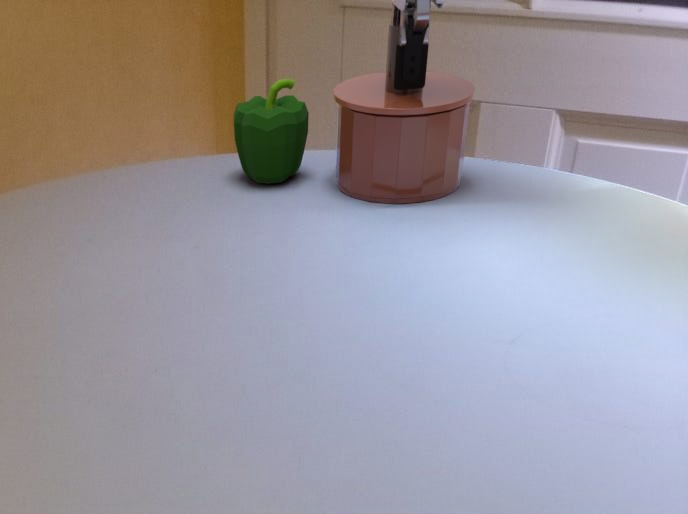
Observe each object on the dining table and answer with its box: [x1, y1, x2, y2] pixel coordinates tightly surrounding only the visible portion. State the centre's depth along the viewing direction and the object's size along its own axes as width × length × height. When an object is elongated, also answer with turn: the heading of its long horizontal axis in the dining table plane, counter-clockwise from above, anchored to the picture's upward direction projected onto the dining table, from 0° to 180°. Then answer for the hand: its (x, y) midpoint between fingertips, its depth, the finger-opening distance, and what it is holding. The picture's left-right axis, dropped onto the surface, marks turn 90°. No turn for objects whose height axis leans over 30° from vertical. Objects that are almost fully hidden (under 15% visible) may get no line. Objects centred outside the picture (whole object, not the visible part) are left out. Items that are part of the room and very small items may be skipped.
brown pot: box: [335, 101, 471, 204], centre depth 107 cm, size 14×14×8 cm
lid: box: [333, 19, 476, 115], centre depth 102 cm, size 15×15×7 cm
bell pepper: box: [233, 78, 310, 185], centre depth 110 cm, size 8×8×10 cm
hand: (405, 80), depth 103 cm, fingers closed on lid, 4 cm apart
